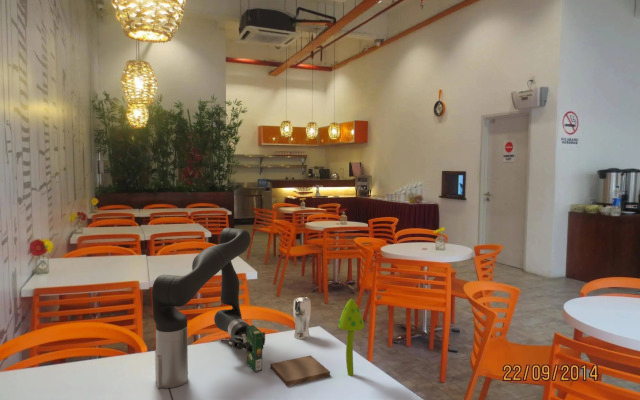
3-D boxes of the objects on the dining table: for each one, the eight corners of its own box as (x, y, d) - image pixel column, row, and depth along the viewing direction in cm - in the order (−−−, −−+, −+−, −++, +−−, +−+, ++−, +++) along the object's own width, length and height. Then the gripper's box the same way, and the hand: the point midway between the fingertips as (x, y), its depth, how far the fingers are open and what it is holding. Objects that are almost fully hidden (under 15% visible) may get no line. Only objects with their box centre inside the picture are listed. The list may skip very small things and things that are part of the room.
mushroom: (342, 382, 135) (343, 303, 134) (334, 370, 144) (335, 295, 142) (367, 378, 138) (368, 301, 136) (358, 367, 146) (359, 294, 144)
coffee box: (263, 371, 143) (263, 331, 142) (254, 373, 141) (254, 333, 140) (254, 361, 149) (253, 324, 149) (246, 363, 148) (245, 325, 147)
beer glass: (310, 339, 170) (310, 302, 169) (292, 339, 170) (292, 301, 169) (310, 333, 177) (311, 297, 176) (293, 333, 177) (294, 296, 176)
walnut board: (287, 386, 132) (287, 381, 132) (270, 368, 145) (270, 363, 145) (330, 376, 139) (330, 371, 139) (310, 359, 152) (310, 355, 152)
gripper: (221, 324, 155) (235, 341, 140) (258, 318, 161) (276, 334, 146) (221, 345, 155) (235, 364, 140) (258, 338, 162) (276, 355, 147)
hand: (256, 348), depth 143 cm, fingers closed on coffee box, 3 cm apart
